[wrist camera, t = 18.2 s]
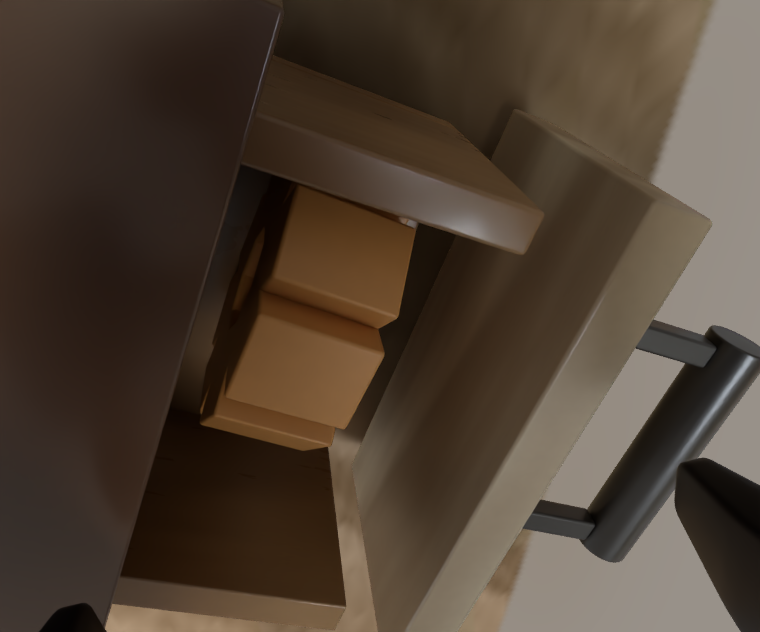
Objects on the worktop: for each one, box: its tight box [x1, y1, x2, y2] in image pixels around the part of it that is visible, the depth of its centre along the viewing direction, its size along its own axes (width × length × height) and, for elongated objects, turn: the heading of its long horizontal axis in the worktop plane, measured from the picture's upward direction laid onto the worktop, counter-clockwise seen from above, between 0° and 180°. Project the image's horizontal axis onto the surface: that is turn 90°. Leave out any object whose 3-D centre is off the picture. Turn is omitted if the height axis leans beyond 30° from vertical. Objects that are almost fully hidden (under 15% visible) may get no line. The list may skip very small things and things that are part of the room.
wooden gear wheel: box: [199, 175, 416, 451], centre depth 13 cm, size 6×6×2 cm
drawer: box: [112, 55, 760, 632], centre depth 15 cm, size 17×12×7 cm
